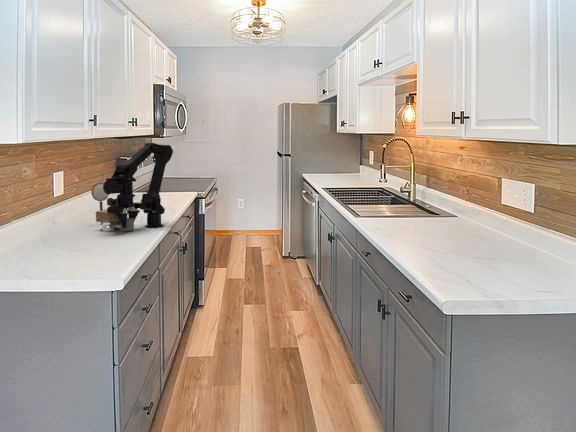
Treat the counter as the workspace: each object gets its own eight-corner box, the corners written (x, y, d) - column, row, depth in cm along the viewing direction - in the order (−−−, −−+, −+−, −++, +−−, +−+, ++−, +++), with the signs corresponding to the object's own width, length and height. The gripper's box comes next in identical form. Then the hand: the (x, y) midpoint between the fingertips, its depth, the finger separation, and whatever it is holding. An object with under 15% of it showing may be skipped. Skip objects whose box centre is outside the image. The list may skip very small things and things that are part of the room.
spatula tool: (113, 226, 248) (112, 215, 248) (134, 229, 242) (133, 218, 241) (106, 227, 245) (106, 216, 244) (127, 230, 239) (126, 219, 238)
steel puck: (108, 229, 246) (108, 224, 246) (116, 230, 244) (116, 225, 244) (100, 231, 241) (99, 226, 241) (108, 232, 239) (108, 227, 239)
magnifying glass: (109, 223, 263) (108, 182, 259) (111, 223, 261) (109, 182, 258) (92, 225, 257) (90, 183, 254) (93, 225, 256) (91, 183, 252)
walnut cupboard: (113, 226, 253) (112, 208, 252) (126, 228, 250) (125, 209, 249) (96, 230, 244) (95, 211, 243) (109, 231, 240) (108, 212, 239)
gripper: (126, 189, 250) (128, 222, 253) (96, 193, 234) (98, 228, 236) (145, 190, 246) (146, 224, 248) (116, 194, 229) (117, 231, 231)
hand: (127, 227), depth 241 cm, fingers closed on spatula tool, 4 cm apart
